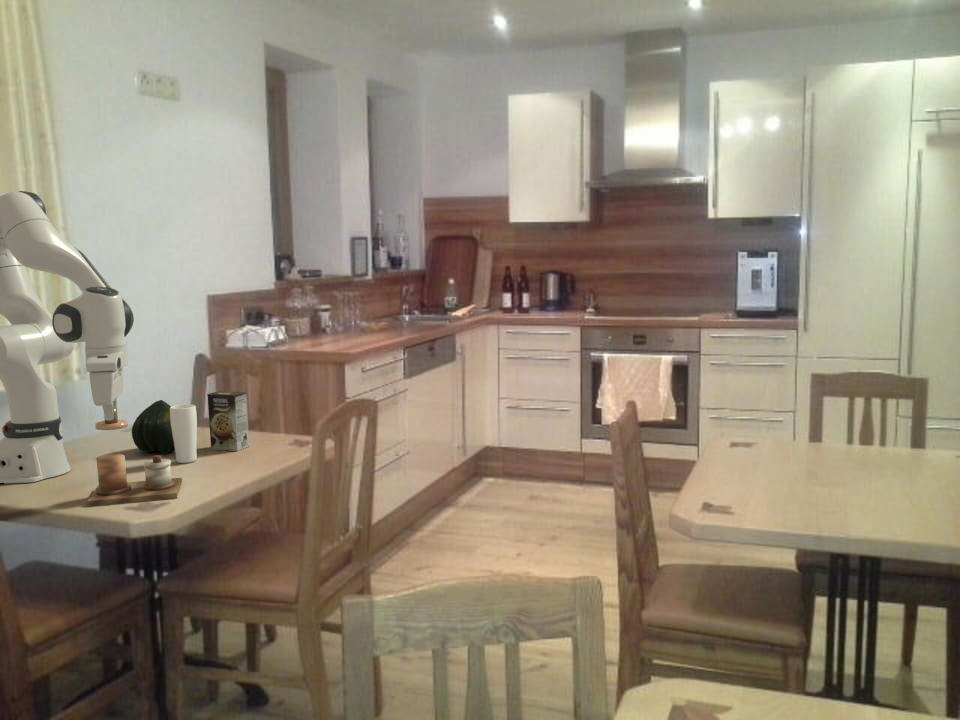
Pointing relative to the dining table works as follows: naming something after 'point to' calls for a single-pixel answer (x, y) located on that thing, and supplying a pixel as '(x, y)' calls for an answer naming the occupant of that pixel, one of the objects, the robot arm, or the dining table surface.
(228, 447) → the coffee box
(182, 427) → the drinking glass
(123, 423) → the jar lid
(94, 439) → the dining table surface
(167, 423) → the squash
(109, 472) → the holder
